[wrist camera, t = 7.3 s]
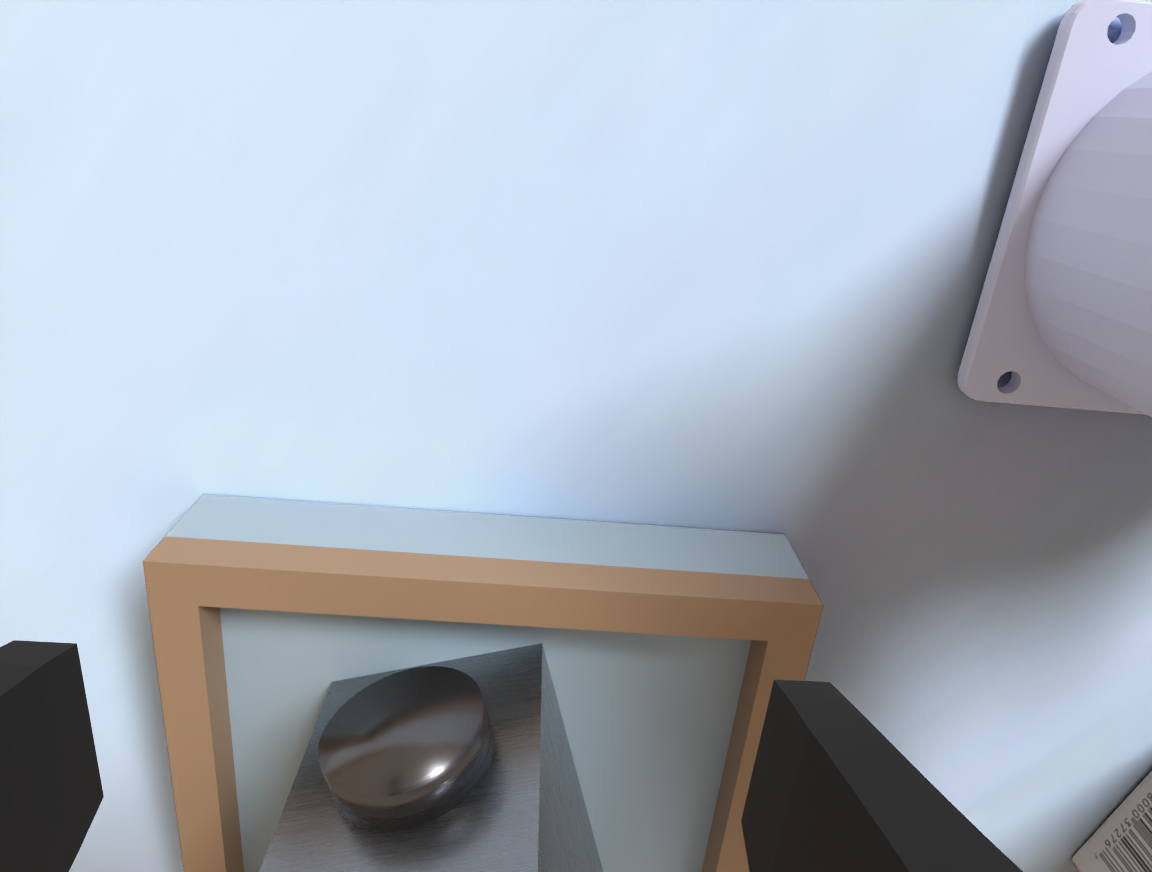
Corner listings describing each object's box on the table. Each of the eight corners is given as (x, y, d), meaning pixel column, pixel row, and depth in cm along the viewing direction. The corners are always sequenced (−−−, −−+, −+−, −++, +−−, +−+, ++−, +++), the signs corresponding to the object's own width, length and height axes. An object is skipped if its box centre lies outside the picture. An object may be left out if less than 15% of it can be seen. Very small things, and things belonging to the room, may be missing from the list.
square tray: (785, 534, 20) (823, 605, 17) (698, 924, 25) (717, 1026, 22) (203, 493, 19) (142, 560, 16) (242, 906, 24) (202, 1010, 21)
